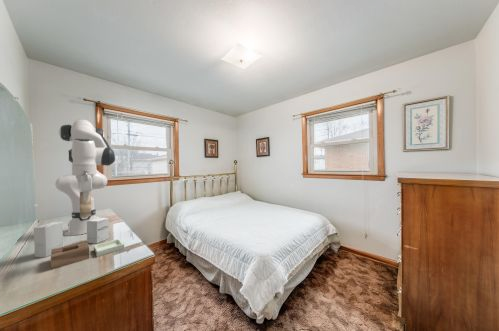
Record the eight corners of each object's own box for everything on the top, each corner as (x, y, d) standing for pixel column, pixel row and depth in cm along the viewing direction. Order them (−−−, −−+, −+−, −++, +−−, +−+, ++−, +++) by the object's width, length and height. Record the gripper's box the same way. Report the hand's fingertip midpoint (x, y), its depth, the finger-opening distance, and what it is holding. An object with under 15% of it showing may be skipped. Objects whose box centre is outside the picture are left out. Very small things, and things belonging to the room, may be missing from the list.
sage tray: (94, 250, 91) (93, 245, 91) (119, 243, 99) (119, 238, 99) (97, 257, 84) (96, 251, 84) (124, 248, 92) (124, 244, 92)
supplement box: (96, 243, 99) (96, 221, 99) (86, 243, 101) (86, 220, 101) (109, 238, 107) (109, 217, 107) (99, 237, 108) (99, 217, 108)
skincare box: (53, 249, 93) (52, 221, 93) (64, 249, 93) (63, 221, 93) (33, 258, 85) (32, 227, 85) (45, 257, 85) (45, 226, 85)
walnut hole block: (51, 260, 82) (51, 249, 82) (86, 250, 91) (86, 240, 91) (51, 269, 74) (50, 257, 74) (89, 258, 83) (89, 247, 83)
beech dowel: (79, 216, 86) (79, 191, 86) (90, 214, 89) (90, 190, 89) (80, 217, 83) (79, 192, 84) (91, 216, 86) (91, 191, 86)
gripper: (95, 171, 81) (96, 200, 81) (91, 171, 96) (91, 196, 96) (76, 171, 77) (77, 203, 77) (74, 171, 91) (75, 198, 91)
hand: (85, 199), depth 86 cm, fingers closed on beech dowel, 4 cm apart
